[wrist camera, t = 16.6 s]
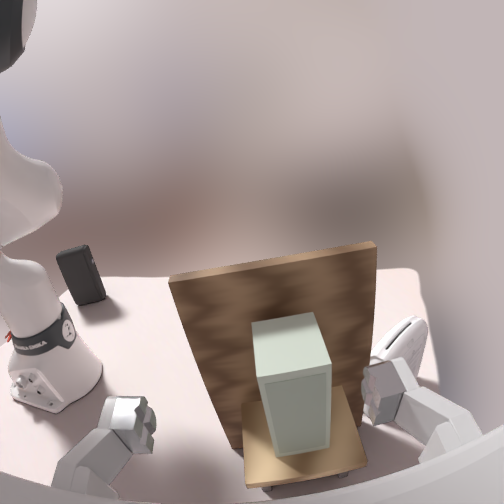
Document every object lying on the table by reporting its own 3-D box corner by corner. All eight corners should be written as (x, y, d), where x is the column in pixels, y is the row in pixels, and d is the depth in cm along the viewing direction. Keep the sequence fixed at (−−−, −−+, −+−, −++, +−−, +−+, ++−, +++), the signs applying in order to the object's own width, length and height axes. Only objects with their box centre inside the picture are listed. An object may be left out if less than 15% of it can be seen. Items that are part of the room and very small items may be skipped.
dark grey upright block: (108, 292, 80) (89, 242, 74) (105, 300, 76) (85, 248, 70) (79, 299, 79) (59, 250, 72) (76, 307, 75) (54, 257, 69)
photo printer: (397, 367, 44) (408, 303, 38) (419, 379, 40) (435, 314, 35) (355, 409, 39) (361, 346, 33) (379, 425, 35) (392, 363, 30)
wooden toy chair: (234, 514, 27) (141, 373, 16) (232, 441, 37) (170, 275, 26) (381, 487, 27) (439, 319, 16) (358, 419, 37) (371, 241, 26)
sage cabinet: (276, 457, 25) (256, 377, 20) (269, 409, 31) (251, 322, 26) (329, 448, 25) (331, 363, 20) (317, 401, 31) (313, 311, 25)
